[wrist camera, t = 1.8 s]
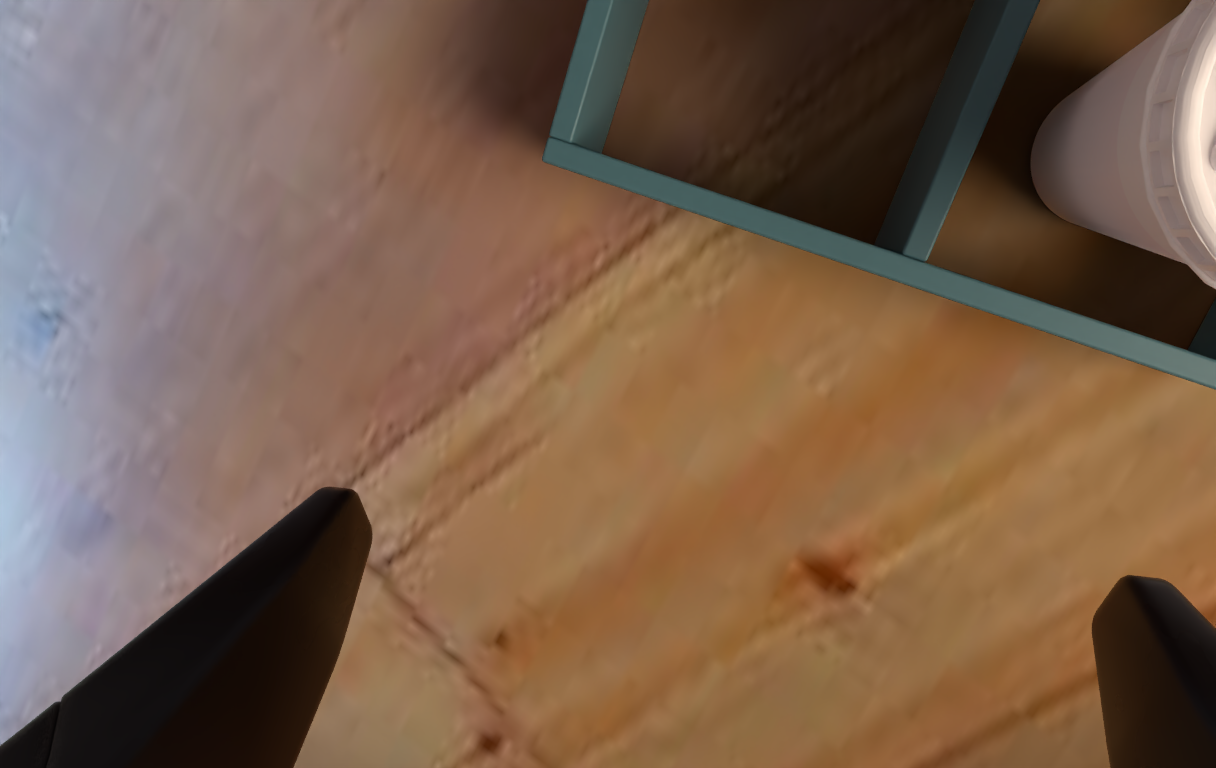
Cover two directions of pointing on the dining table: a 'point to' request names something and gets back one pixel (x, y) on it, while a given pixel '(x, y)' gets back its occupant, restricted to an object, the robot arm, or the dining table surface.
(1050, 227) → the dining table surface
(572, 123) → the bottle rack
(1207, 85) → the smoothie
